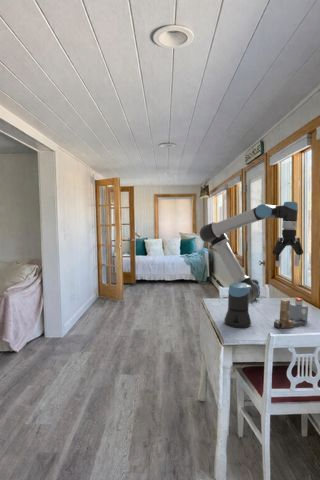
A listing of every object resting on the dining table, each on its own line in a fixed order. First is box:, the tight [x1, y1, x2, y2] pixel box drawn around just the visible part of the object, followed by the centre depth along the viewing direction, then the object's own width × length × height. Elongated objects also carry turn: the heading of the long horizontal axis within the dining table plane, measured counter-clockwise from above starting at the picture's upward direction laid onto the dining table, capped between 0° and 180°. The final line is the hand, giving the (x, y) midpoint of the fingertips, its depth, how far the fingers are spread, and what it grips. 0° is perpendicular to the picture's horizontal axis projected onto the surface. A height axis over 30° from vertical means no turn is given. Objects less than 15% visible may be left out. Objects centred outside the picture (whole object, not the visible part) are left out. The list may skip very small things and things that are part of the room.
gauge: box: [294, 297, 304, 306], centre depth 194 cm, size 4×4×6 cm
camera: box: [251, 279, 261, 301], centre depth 241 cm, size 10×10×15 cm
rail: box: [273, 318, 307, 330], centre depth 182 cm, size 20×4×3 cm, turn 111°
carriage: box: [274, 298, 294, 329], centre depth 180 cm, size 8×6×15 cm
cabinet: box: [289, 303, 309, 322], centre depth 194 cm, size 8×8×9 cm
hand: (287, 266), depth 178 cm, fingers open, 13 cm apart
